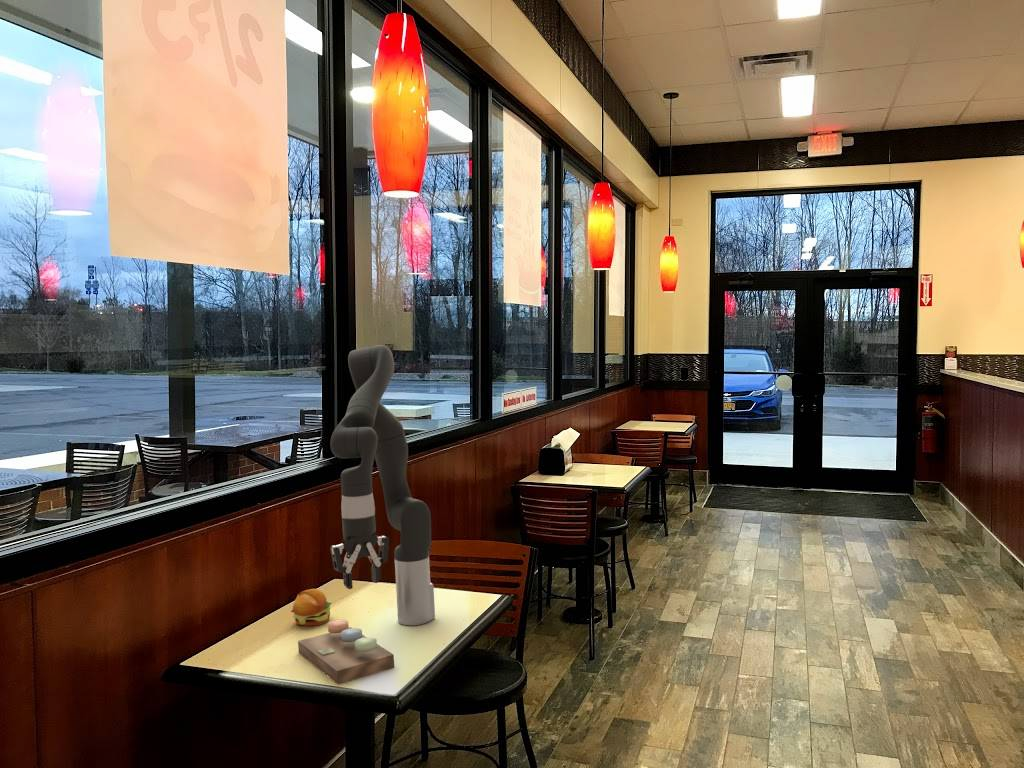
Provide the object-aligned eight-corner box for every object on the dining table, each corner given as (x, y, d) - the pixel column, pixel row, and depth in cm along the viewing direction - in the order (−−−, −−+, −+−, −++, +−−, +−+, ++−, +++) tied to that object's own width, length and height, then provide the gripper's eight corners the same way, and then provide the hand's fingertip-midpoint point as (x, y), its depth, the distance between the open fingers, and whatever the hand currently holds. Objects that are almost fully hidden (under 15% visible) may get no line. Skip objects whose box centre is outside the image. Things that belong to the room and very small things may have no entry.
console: (351, 638, 207) (350, 625, 207) (394, 667, 187) (393, 653, 187) (298, 652, 199) (297, 639, 199) (337, 684, 179) (336, 669, 179)
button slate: (357, 633, 198) (356, 626, 197) (365, 638, 193) (365, 632, 193) (337, 638, 195) (337, 631, 195) (346, 644, 191) (345, 637, 190)
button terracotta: (343, 624, 204) (343, 618, 204) (351, 629, 200) (351, 623, 200) (325, 629, 201) (324, 623, 201) (332, 634, 197) (332, 628, 197)
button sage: (371, 642, 191) (370, 635, 191) (380, 648, 187) (380, 641, 187) (351, 647, 188) (351, 640, 188) (360, 653, 184) (360, 647, 184)
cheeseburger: (337, 613, 227) (333, 582, 224) (326, 636, 216) (321, 603, 214) (302, 613, 228) (298, 582, 225) (289, 636, 217) (284, 603, 215)
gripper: (379, 506, 193) (383, 575, 194) (322, 516, 185) (326, 588, 186) (393, 510, 187) (397, 582, 188) (335, 521, 179) (339, 595, 180)
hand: (362, 585), depth 187 cm, fingers open, 6 cm apart
